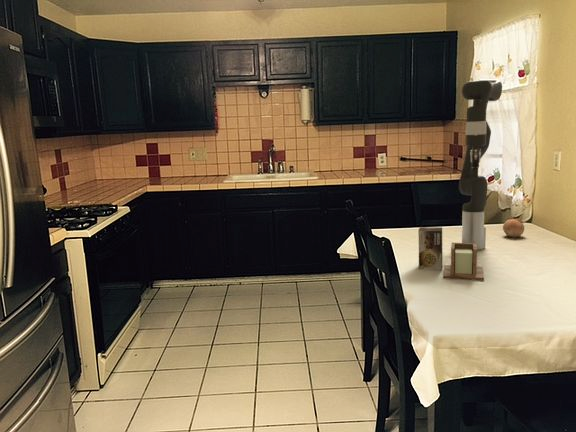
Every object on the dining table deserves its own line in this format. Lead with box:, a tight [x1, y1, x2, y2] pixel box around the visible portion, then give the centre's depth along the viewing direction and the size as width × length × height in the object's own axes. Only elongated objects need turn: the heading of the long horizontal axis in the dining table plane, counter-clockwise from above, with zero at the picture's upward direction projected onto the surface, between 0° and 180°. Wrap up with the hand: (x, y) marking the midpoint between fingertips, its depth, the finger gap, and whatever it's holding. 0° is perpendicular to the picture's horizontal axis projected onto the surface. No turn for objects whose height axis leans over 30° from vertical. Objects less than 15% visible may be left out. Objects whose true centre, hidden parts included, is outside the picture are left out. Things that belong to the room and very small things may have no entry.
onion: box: [502, 218, 525, 238], centre depth 233 cm, size 10×9×10 cm
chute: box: [443, 242, 485, 281], centre depth 181 cm, size 14×14×11 cm
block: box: [455, 249, 472, 274], centre depth 181 cm, size 6×6×8 cm
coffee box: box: [417, 226, 444, 271], centre depth 190 cm, size 9×6×16 cm
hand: (474, 177), depth 189 cm, fingers closed
